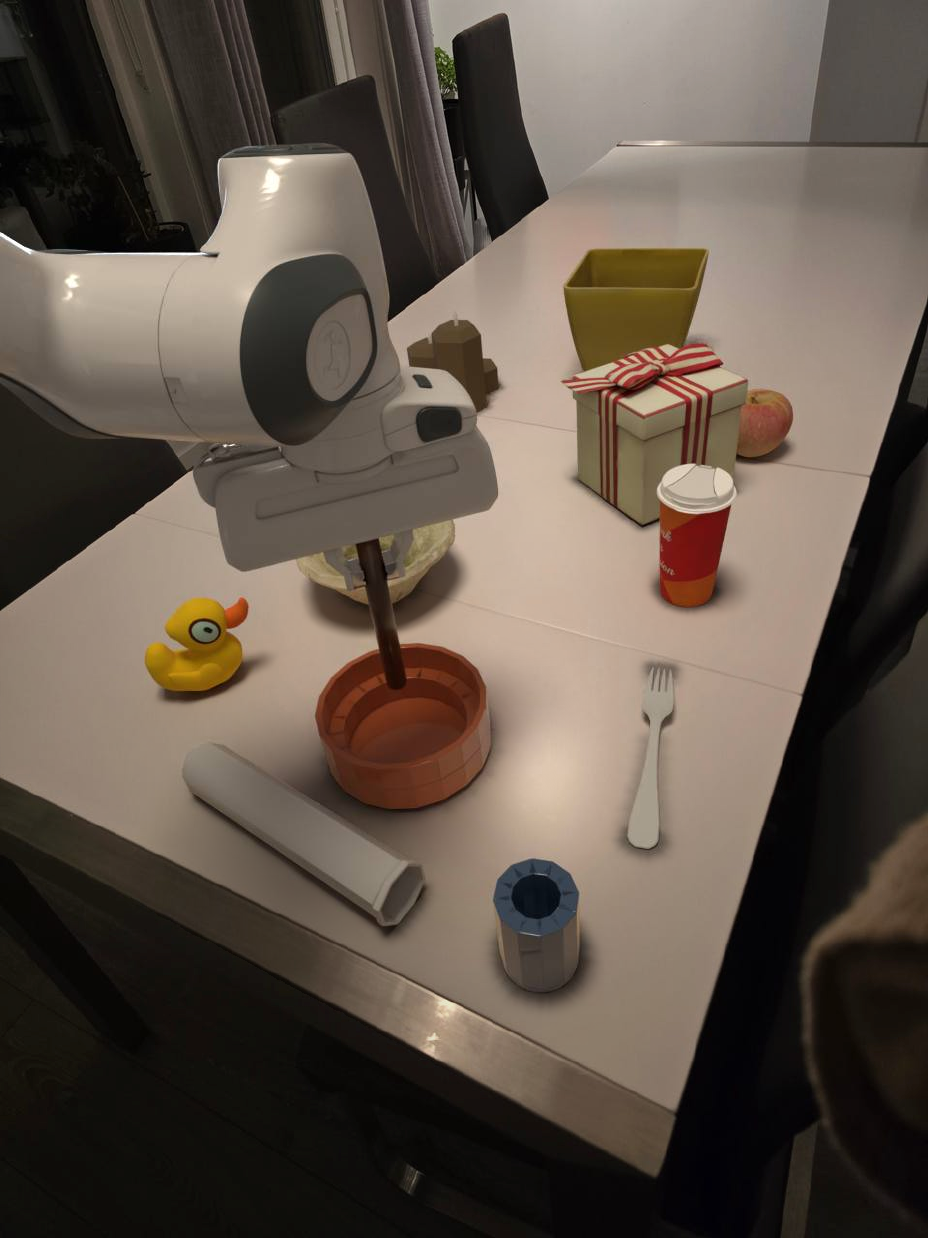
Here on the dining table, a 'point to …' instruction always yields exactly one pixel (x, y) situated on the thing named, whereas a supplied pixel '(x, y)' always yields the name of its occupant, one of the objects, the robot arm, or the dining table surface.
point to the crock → (537, 924)
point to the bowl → (417, 561)
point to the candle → (457, 358)
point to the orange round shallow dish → (405, 727)
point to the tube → (306, 832)
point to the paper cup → (692, 531)
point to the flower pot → (632, 300)
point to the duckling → (198, 646)
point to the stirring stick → (382, 613)
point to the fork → (650, 764)
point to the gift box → (654, 422)
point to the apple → (763, 422)
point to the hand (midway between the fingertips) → (375, 579)
